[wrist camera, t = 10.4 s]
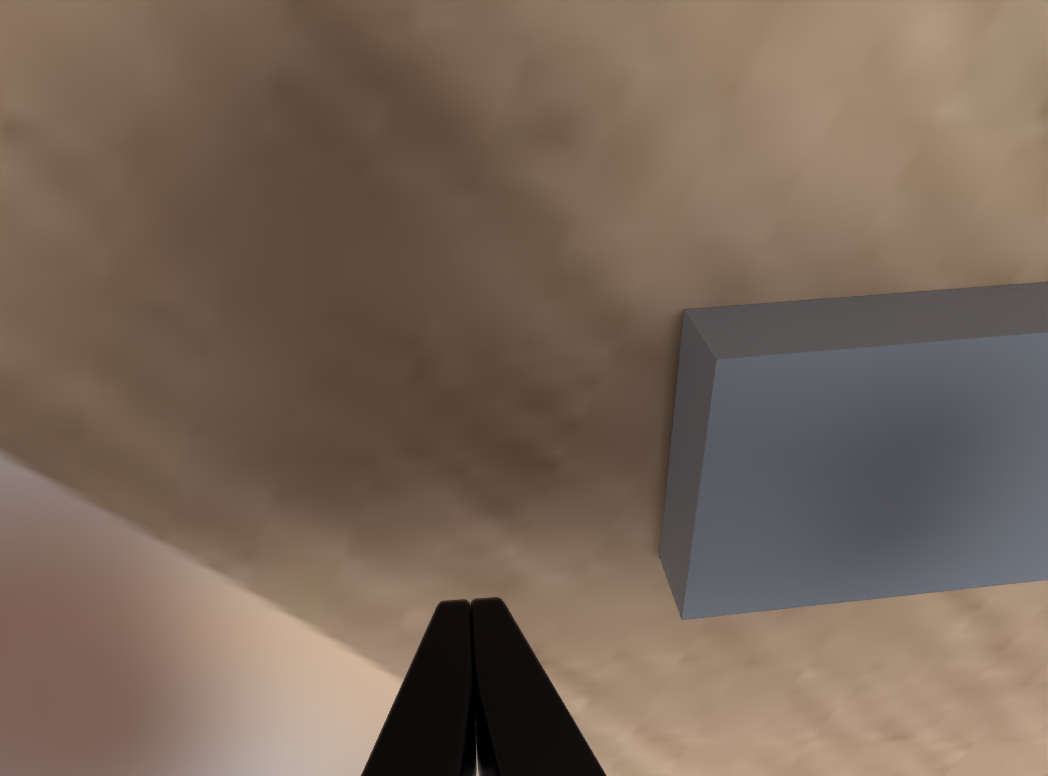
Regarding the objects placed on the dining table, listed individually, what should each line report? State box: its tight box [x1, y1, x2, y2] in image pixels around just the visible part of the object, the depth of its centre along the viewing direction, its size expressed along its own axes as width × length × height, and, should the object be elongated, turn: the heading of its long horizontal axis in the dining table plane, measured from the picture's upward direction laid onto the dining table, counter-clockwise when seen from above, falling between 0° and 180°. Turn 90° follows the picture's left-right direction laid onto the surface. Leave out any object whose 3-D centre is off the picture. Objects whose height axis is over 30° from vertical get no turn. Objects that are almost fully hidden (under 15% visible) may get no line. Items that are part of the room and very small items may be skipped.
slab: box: [659, 282, 1048, 620], centre depth 13 cm, size 9×6×2 cm, turn 92°
